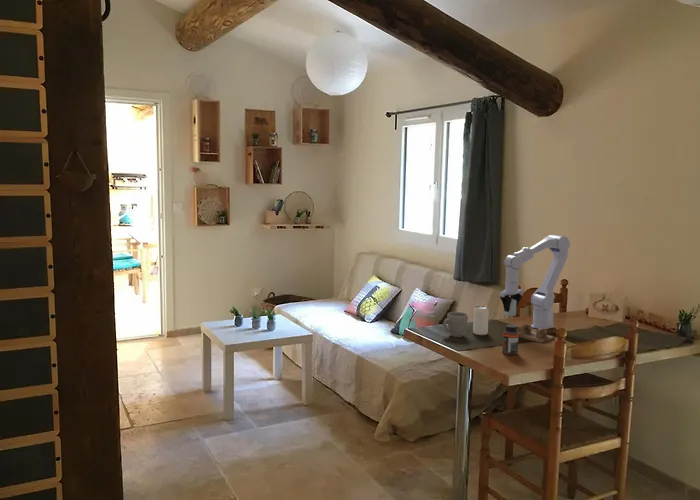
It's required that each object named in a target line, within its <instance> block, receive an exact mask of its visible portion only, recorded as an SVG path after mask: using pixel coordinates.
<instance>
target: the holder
mask: <svg viewBox="0 0 700 500" xmlns="http://www.w3.org/2000/svg"><path fill="white" fill-rule="evenodd" d="M531 325H532V324H530V323H528V324H524V325H520V331H518V333H519V339H524V340H528V341H532V342H536V343H539V344H540V343H546V342H549V341H552V340H554V339H555V336H554V335H549V334H548V329H547V328H541V329H537V328H536V331H534V330H533V331H532V327H531Z"/></svg>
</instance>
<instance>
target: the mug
mask: <svg viewBox="0 0 700 500" xmlns="http://www.w3.org/2000/svg"><path fill="white" fill-rule="evenodd" d="M446 315H447V316H446V317H447V318H445V319H444V320H443V323H442V326H443V329H444V331H445V332H446V333H449V335H450V336H451V337H453V336H454V337H453V338H462V337H464V334H465V331H466V329H467V326H468V321H469V319H468V317H469V315H468V314H467V313H465V312H461V311H451V312H447V314H446Z"/></svg>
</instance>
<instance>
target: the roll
mask: <svg viewBox="0 0 700 500" xmlns="http://www.w3.org/2000/svg"><path fill="white" fill-rule="evenodd" d="M516 302H517V300H515V299H512V301H511V304H510V310H509V312H506V311H504V316H508V317H516V315H517V310H516Z"/></svg>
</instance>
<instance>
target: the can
mask: <svg viewBox="0 0 700 500" xmlns="http://www.w3.org/2000/svg"><path fill="white" fill-rule="evenodd" d="M489 312H490V311H489V308H488V306H484V305H475V306H474V310H473V323H472V333H473V334H474V335H475V336H477V335H478V336H487V335H488V334H489V333H488V332H489V330H488V329H489V316H490V315H489V314H490V313H489Z"/></svg>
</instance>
